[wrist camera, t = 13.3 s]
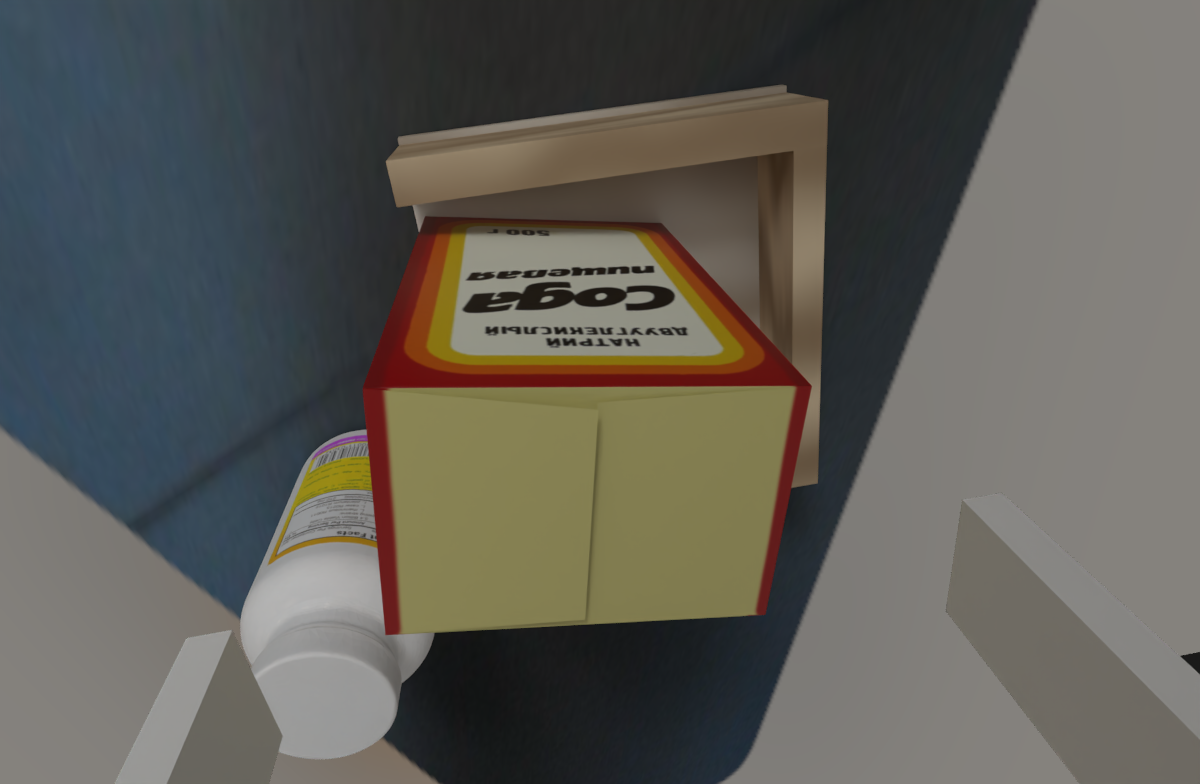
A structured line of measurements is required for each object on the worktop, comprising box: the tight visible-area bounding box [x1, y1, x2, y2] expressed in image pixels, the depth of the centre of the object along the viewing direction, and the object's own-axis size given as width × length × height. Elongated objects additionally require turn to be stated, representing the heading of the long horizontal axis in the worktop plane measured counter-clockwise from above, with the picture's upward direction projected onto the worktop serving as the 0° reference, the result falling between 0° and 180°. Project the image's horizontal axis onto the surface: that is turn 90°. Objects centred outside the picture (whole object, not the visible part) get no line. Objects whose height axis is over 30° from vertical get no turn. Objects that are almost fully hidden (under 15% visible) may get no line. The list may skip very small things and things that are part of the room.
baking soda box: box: [363, 216, 812, 635], centre depth 23 cm, size 10×6×16 cm
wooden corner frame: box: [386, 85, 828, 488], centre depth 30 cm, size 16×15×4 cm
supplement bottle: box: [240, 430, 434, 759], centre depth 28 cm, size 7×7×13 cm
